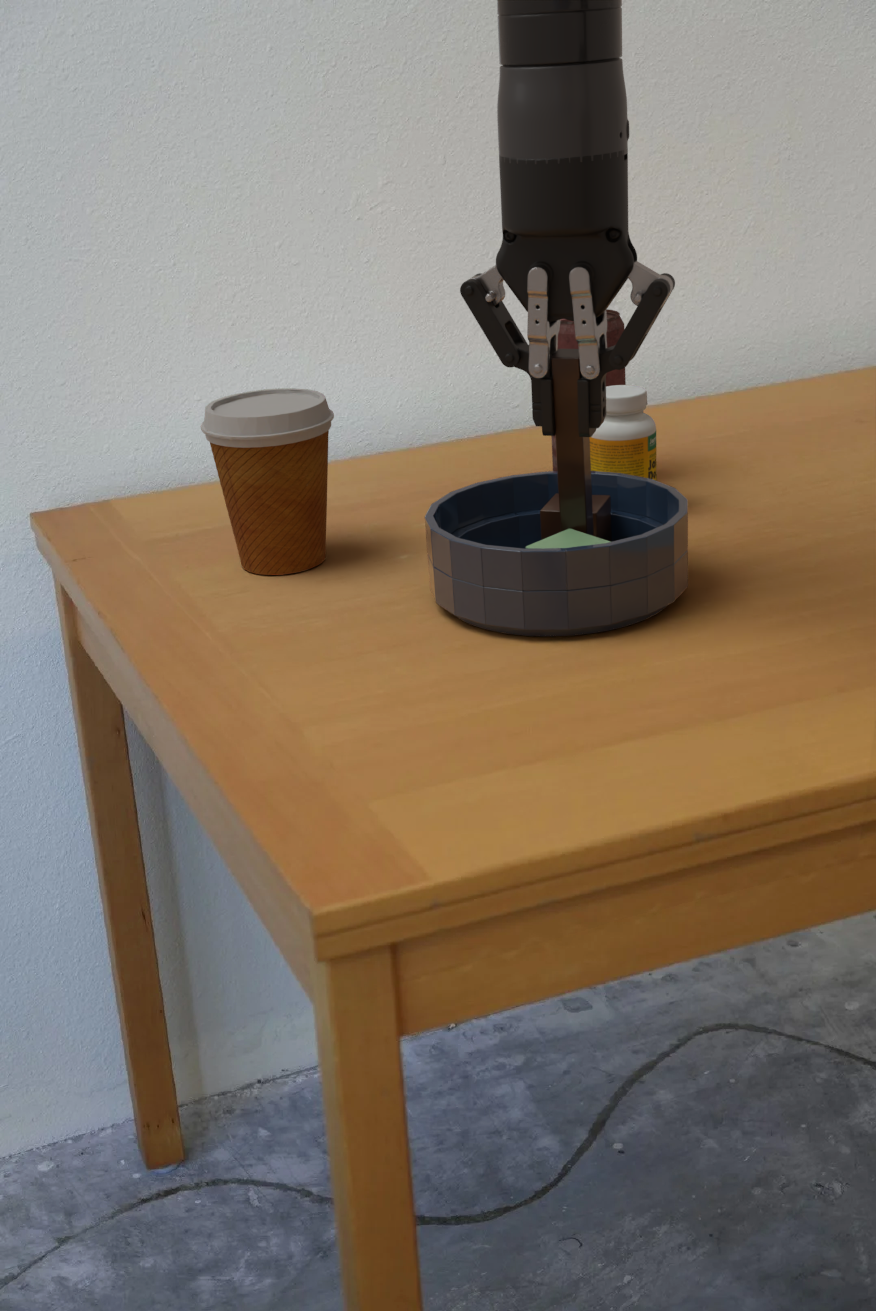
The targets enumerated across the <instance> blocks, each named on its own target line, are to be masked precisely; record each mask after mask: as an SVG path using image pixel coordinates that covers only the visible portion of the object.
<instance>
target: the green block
mask: <svg viewBox="0 0 876 1311" xmlns="http://www.w3.org/2000/svg"><path fill="white" fill-rule="evenodd" d="M608 542H610V541H607V540H604V539H601V538H598V537H595V536H592V535H589V534H586V533H583V532H579V531H576V530H573V529H570V528H569V529H567V530H564V531H562V532H559V533H557V534H555V535H552V536H550V537H547V538H545V539H543V540H540V541H538V542H535V543H533V544H531V545H528V546H526V547H525V548H526V549H529V548H570V547H578V546H587V545H595V544H603V543H608Z"/></svg>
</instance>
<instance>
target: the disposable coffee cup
mask: <svg viewBox="0 0 876 1311" xmlns="http://www.w3.org/2000/svg"><path fill="white" fill-rule="evenodd" d="M334 418H335V413H334V411H333V410H332V409H330V406H329V404H328V401H327V398H326V395H325V394H324V393H322V392H320V391H317V390H313V389H307V388H291V387H289V388H287V387H286V388H285V387H284V388H280V387H279V388H278V387H277V388H266V389H265V388H264V389H256V390H250V391H243V392H238V393H234V394H230V395H226V396H223V397H219V398H217V399H214V400H212V401H210V402H209V403H208V404H207V405H205V409H204V419H203V422H201V424H200V430H201V431H202V433H203V434H204V436H205V438H206V440H207V442H209V446H210V448H211V453H212V457H213V460H214V462H215V463H214V464H215V468H216V472H217V476H218V480H219V484H220V487H221V490H222V495H223V499H224V502H225V507H226V510H227V516H228V518H229V521H230V526H231V529H232V533H233V536H234V542H235V544H236V548H237V553H238V556H239V561H240V565H241V568H242V569H243V570H245V571H247V572H249V573H253V574H256V575H263V576H280V575H281V576H283V575H290V574H296V573H300V572H305V571H307V570H310V569H313V568H315V567H318V566H319V565H321V564H322V563H323V562H324V561H326V558H327V513H328V512H327V511H328V476H329V473H328V472H329V468H328V467H329V433H330V430H331V427H332V421H333V419H334Z"/></svg>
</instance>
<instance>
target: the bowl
mask: <svg viewBox="0 0 876 1311" xmlns="http://www.w3.org/2000/svg"><path fill="white" fill-rule="evenodd" d="M591 485H592V495H609V496H610V497H611V539H612V542H608V543H603V544H595V545H587V546H578V547H570V548H529V549H526V548H525V547H526V546H528V545H531V544H533V543H535V542H538V541H540V540H541V520H540V510H541V509H542V508H543V507H544V506H545V505H546V504H547V503H548V501H549V500H550V499H551V498H552V497H553V496H554V495H555V494H556V493H558V494H559V492H558V473H557V471H553V470H551V471H550V470H547V471H537V472H529V473H519V474H511V475H507V476H501V477H497V478H496V477H495V478H492V479H488V480H483V481H478V482H475V483H472V484H469V485H466V486H464V487H460V488H458V489H455V490H453V491H450V492H448V493H446V494H445V495H443V496H441V497H440V498H438V499H437V500H435V501H434V502H432V503H431V504H430V506H429V508H428V510H427V511H426V513H425V515H424V526H425V528H424V529H425V541H426V554H427V566H428V580H429V590H430V592H431V594H432V597H433V598H434V599H433V600H434V602H435V603H436V605H438V606H440V607H441V608H442V609H444V610H446V611H447V612H448V613H450V614H451V615H453V616H454V617H456V618H457V619H459V621H462V622H464V623H466V624H468V625H471V626H474V627H476V628H479V629H482V630H486V631H491V632H495V633H501V634H505V635H506V634H507V635H512V636H513V635H514V636H526V637H545V638H547V637H569V636H571V637H572V636H582V635H590V634H591V635H592V634H598V633H603V632H608V631H613V630H617V629H623V628H626V627H628V626H633V625H636V624H638V623H641V622H643V621H645V620H647V619H650V618H651V617H653V616H656V615H658V614H659V613H660V612H662V611H664V610H665V609H666V608H667V607H668V606H669V605H671V604H673V603H674V602H675V601H676V600H677V599H678V598H679V597H680V596H681V595H682V594H683V593H684V592H685V591H686V590H687V588H688V587H689V499H688V498H687V497H686V496H685V495H683V493H681V492H680V491H679V490H678V489H677V488H676V487H675V486H674V487H673V486H671V485H669V484H666V483H664V482H661V481H658V480H657V481H656V480H653V479H649V478H644V477H639V476H634V475H628V474H623V473H613V472H599V471H591Z"/></svg>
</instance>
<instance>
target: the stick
mask: <svg viewBox="0 0 876 1311" xmlns="http://www.w3.org/2000/svg"><path fill="white" fill-rule="evenodd" d="M551 364H552V379H553V397H554V415H555V433H556V435H555V437H556V455H557V473H558V492H559V510H560V528H561V532H562V531H564V530H567V529H569V528H570V529H573V530H576V531H579V532H583V533H586V534H589V535H592V536H594V532H593V508H592V485H591V462H590V438H589V437H579V432H578V391H577V380H578V379H581V378H582V374H581V371H580V359H579V349H558V350H557V351H556V352H555V354H554V355H553V356H552V358H551Z"/></svg>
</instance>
